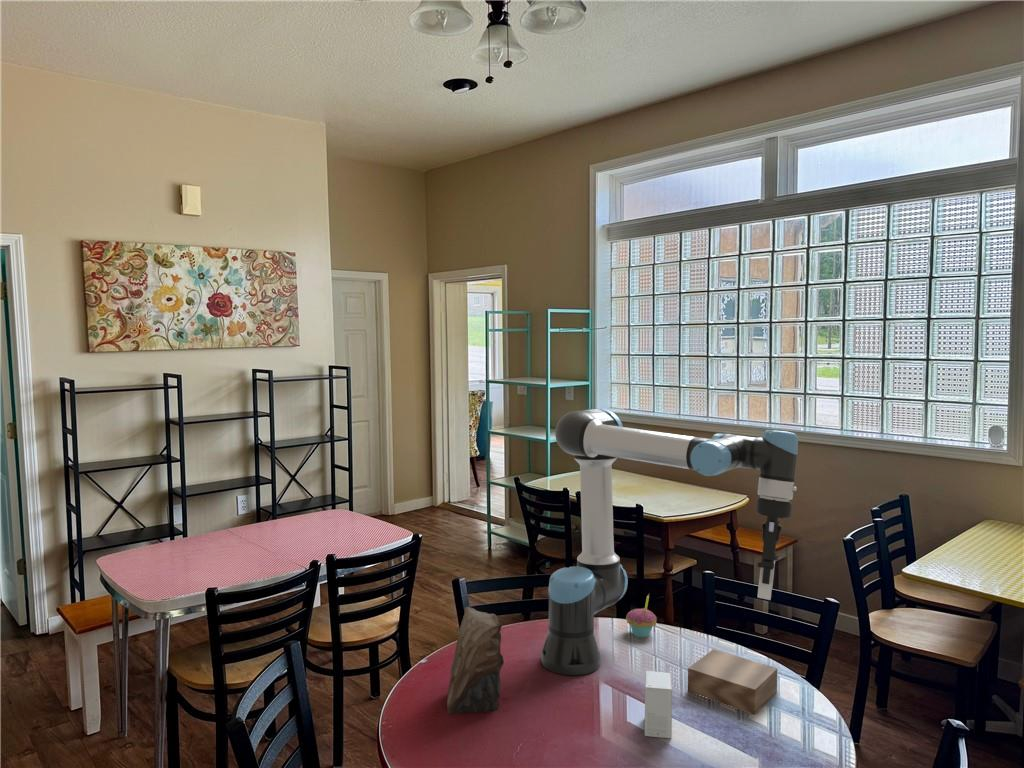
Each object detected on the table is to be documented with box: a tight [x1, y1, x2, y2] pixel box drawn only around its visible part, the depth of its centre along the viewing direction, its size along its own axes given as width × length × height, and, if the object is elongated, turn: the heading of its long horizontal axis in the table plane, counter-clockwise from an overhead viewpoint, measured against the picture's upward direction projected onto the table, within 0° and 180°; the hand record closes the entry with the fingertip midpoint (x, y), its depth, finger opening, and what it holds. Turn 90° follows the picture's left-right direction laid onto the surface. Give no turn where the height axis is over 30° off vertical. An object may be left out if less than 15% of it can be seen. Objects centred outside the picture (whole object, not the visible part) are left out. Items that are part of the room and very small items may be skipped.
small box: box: [644, 670, 673, 740], centre depth 146 cm, size 8×6×10 cm
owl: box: [446, 606, 505, 715], centre depth 157 cm, size 13×13×20 cm
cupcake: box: [625, 593, 658, 638], centre depth 196 cm, size 9×8×12 cm
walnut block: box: [687, 648, 778, 715], centre depth 163 cm, size 16×14×6 cm
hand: (765, 593), depth 155 cm, fingers open, 13 cm apart
